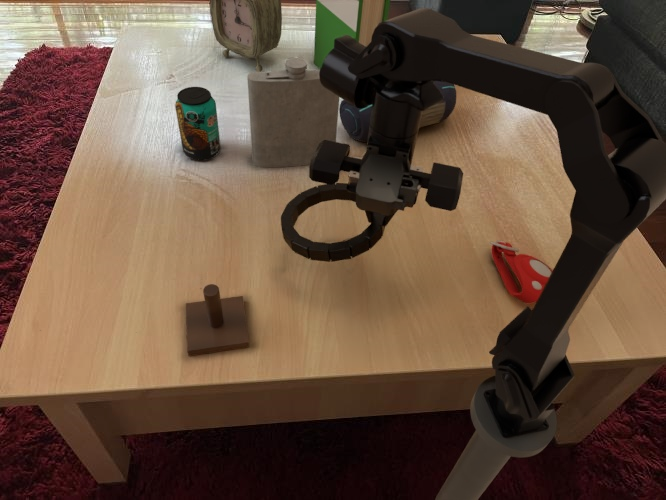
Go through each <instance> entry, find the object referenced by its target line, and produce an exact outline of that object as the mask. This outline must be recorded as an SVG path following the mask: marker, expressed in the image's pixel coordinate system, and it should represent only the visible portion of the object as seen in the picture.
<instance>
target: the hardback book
mask: <svg viewBox="0 0 666 500" xmlns="http://www.w3.org/2000/svg"><path fill="white" fill-rule="evenodd" d="M315 2H316V3H315V22H314V45H313V46H314V47H313V49H314V50H313V64H314V65H315V66H316V67H317V69H320V68H321V67H322V64H323V62H324V60H325V58H326V56H327V55H328V53H329V52H330V51H331V50H332V49H333V48H334V40H335V39H336V38H339V37H342V36H345V35H349V36H351V37H352V38H354V39H355V40H356V41H357V42H359V43H360V44H362V45H364V46H366V47H367V46H368V44H369V43H370V42H371V39H372V34H373V32H374V29H375V28H376V27H377V26H378V24H379V23H381V22H383V21H386V20H389V13H390V7H391V0H315Z"/></svg>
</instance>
